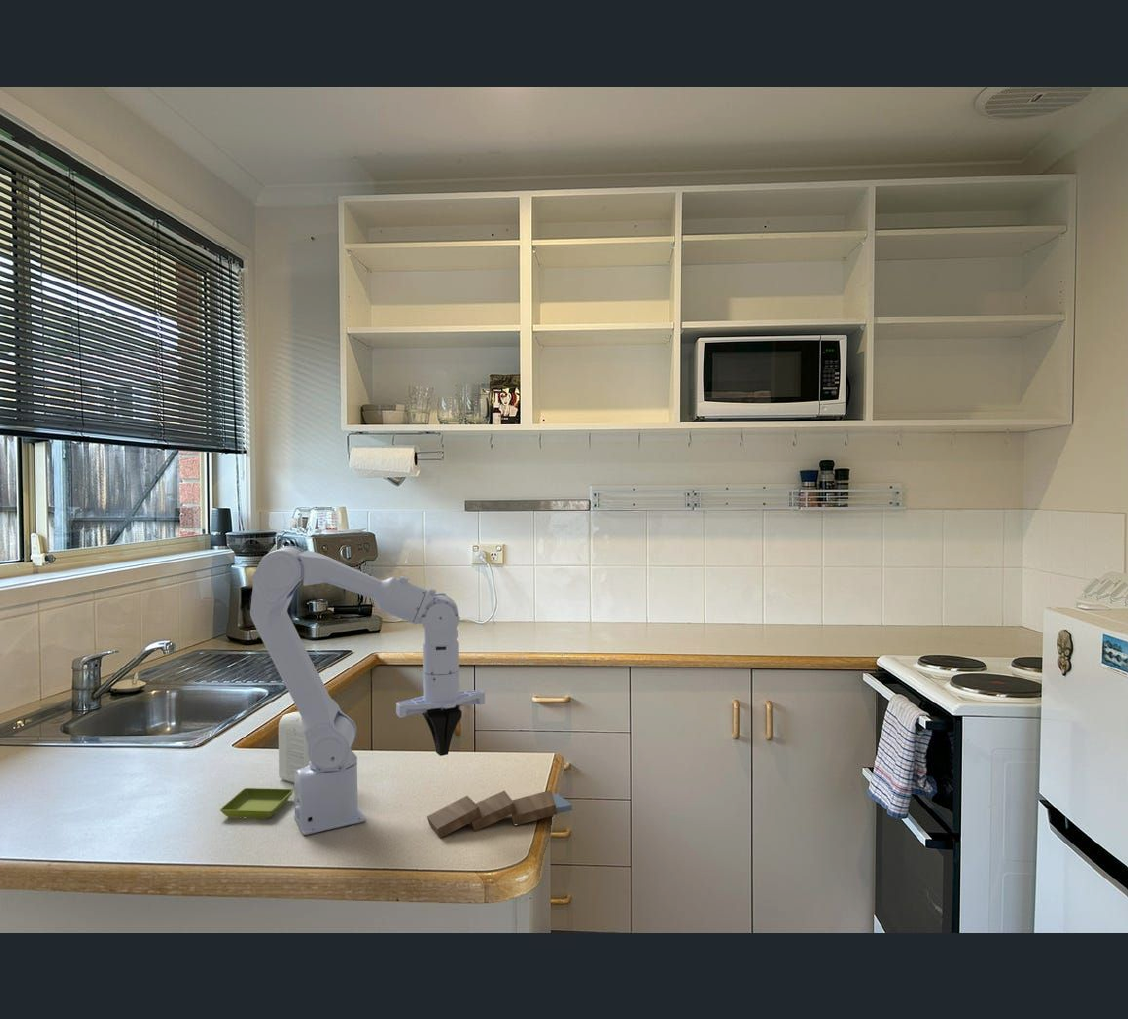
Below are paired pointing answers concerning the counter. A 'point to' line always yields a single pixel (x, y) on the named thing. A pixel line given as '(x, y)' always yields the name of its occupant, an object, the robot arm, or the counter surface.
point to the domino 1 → (454, 816)
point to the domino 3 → (534, 807)
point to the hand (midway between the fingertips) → (442, 753)
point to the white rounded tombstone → (292, 746)
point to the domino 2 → (493, 810)
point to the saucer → (256, 802)
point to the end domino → (561, 804)
